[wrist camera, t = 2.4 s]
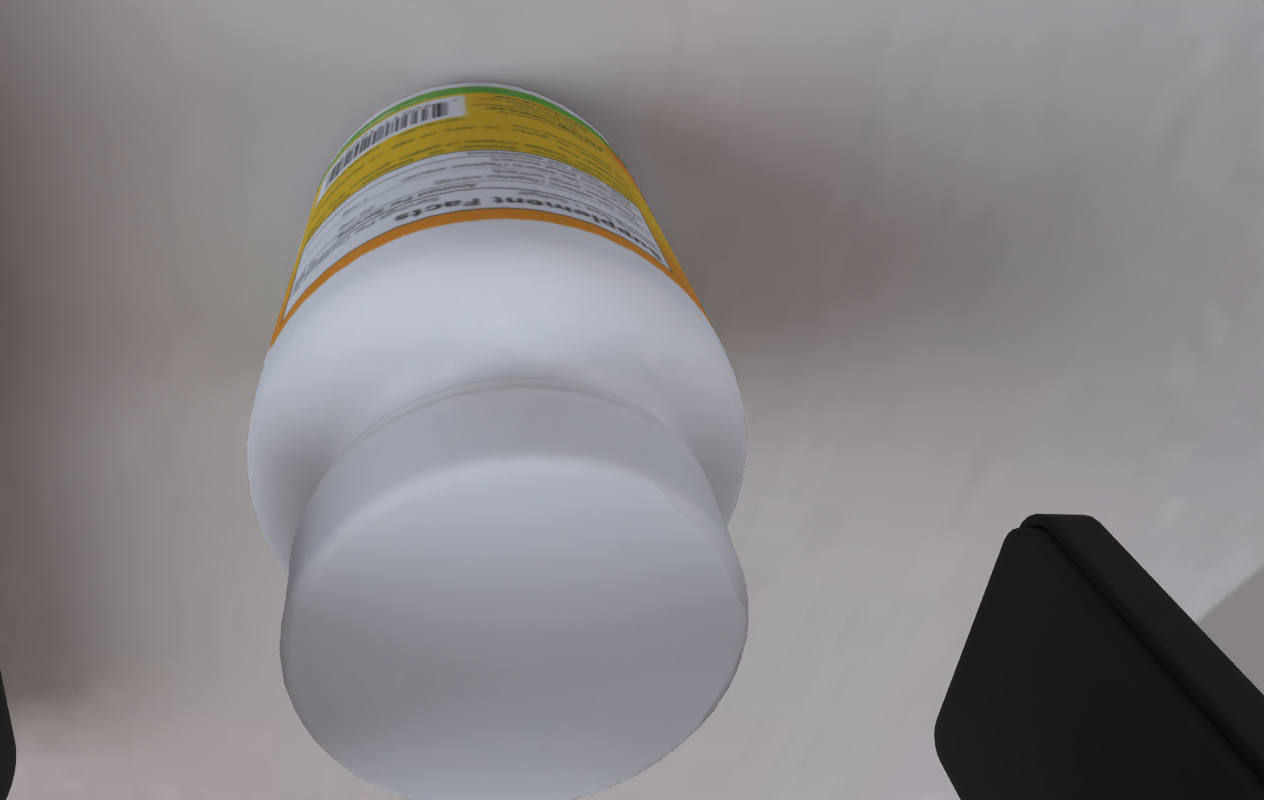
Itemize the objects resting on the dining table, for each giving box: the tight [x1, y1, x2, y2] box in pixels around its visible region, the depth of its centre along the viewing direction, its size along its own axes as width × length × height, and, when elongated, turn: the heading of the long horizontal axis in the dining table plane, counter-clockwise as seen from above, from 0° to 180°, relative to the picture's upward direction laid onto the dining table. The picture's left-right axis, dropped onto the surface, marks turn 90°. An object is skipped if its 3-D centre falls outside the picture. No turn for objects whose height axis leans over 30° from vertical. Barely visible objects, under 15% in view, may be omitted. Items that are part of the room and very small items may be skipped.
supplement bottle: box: [247, 82, 748, 800], centre depth 13 cm, size 5×5×10 cm
